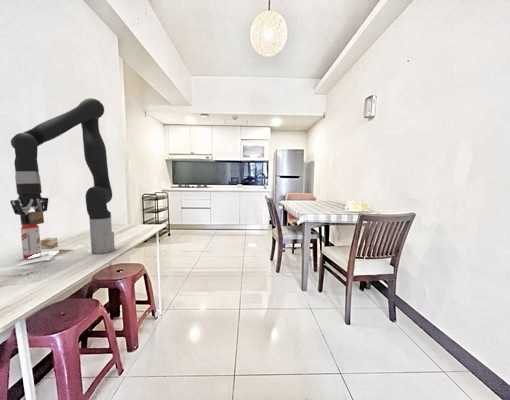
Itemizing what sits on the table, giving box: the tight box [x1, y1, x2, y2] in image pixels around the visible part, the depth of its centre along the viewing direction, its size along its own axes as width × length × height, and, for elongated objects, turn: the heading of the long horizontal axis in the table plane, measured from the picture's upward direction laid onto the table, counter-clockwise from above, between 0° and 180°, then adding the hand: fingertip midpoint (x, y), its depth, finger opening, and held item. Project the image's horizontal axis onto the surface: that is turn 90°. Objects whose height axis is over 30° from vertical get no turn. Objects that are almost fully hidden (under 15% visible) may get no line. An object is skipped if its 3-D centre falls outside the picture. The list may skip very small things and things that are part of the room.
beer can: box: [20, 224, 42, 260], centre depth 111 cm, size 6×6×16 cm
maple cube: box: [40, 237, 59, 250], centre depth 128 cm, size 5×5×5 cm
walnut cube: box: [19, 211, 45, 226], centre depth 100 cm, size 5×5×5 cm
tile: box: [55, 248, 75, 256], centre depth 119 cm, size 8×8×1 cm
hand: (33, 222), depth 100 cm, fingers closed on walnut cube, 5 cm apart
